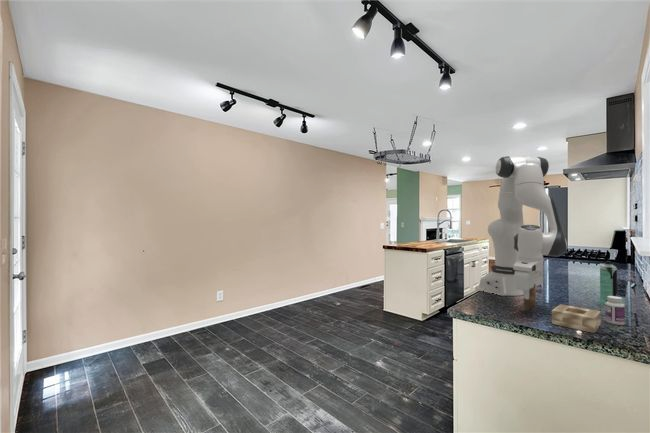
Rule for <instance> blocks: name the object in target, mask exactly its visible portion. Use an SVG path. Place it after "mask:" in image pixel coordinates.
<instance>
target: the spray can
mask: <svg viewBox="0 0 650 433" xmlns="http://www.w3.org/2000/svg"><path fill="white" fill-rule="evenodd" d="M599 266H600V267H599V287H600V288H599V294H600V295H599V300H600V303H599V304H600V306H602V307H605V303H606V302H607V301H608V300H607V296H616V297H618V269H617V268H618V267H617V266H615V265H613V264H612V262H611V261H610V260H606V261H605V262H604V263H603V264H602V265H599Z"/></svg>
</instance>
